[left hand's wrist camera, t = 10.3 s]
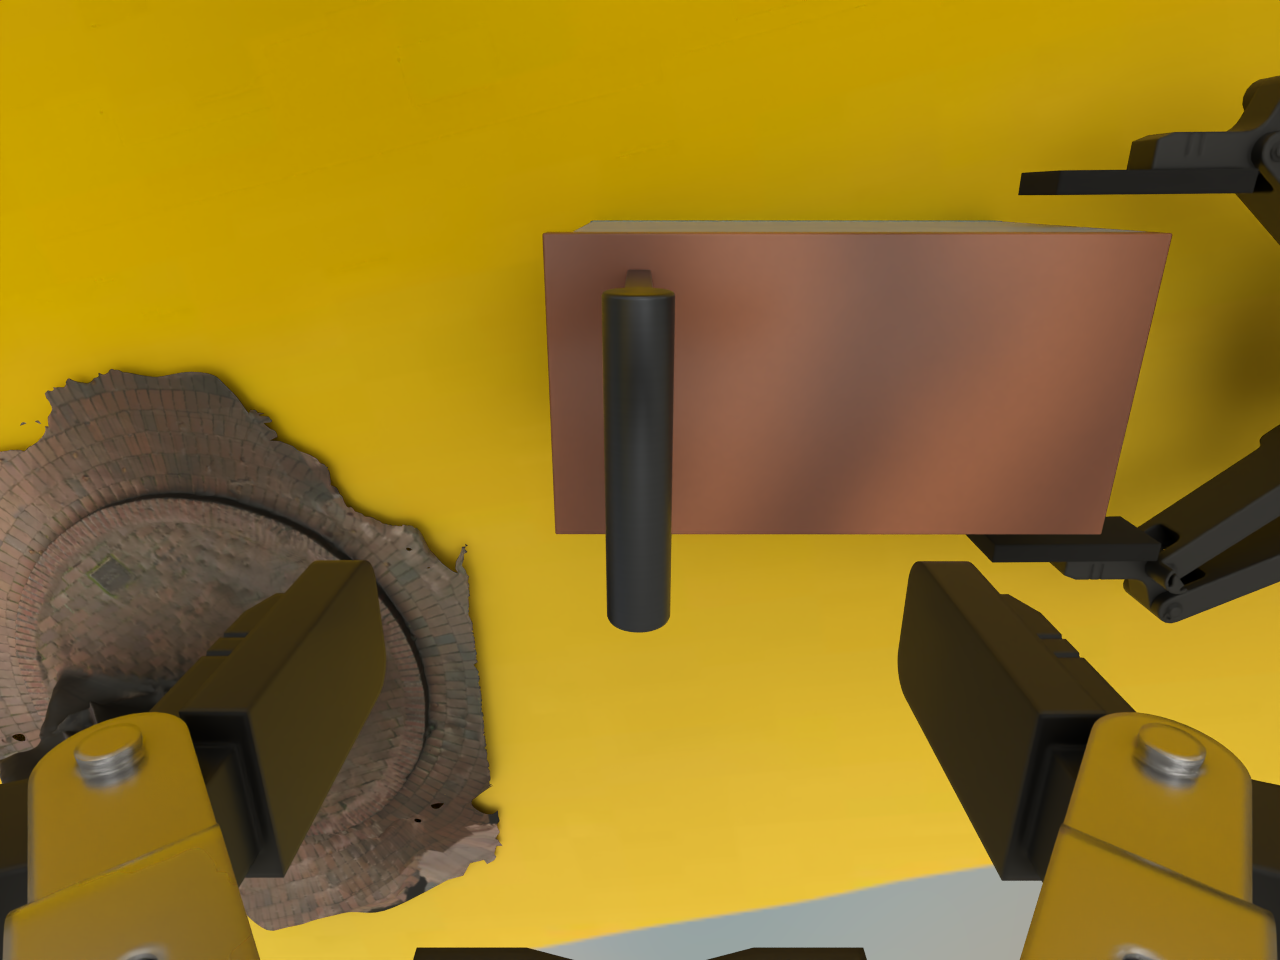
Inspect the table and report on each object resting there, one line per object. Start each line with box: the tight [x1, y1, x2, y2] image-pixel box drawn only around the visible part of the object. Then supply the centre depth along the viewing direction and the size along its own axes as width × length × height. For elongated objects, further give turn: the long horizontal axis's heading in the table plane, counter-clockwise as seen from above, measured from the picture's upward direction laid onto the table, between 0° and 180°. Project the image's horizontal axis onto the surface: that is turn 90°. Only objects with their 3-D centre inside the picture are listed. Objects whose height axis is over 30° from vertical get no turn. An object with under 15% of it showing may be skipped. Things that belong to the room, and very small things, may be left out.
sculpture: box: [0, 369, 502, 931], centre depth 34 cm, size 33×35×16 cm
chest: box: [573, 221, 1144, 232], centre depth 30 cm, size 18×10×11 cm, turn 90°
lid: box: [543, 232, 1172, 632], centre depth 20 cm, size 18×10×8 cm, turn 90°
